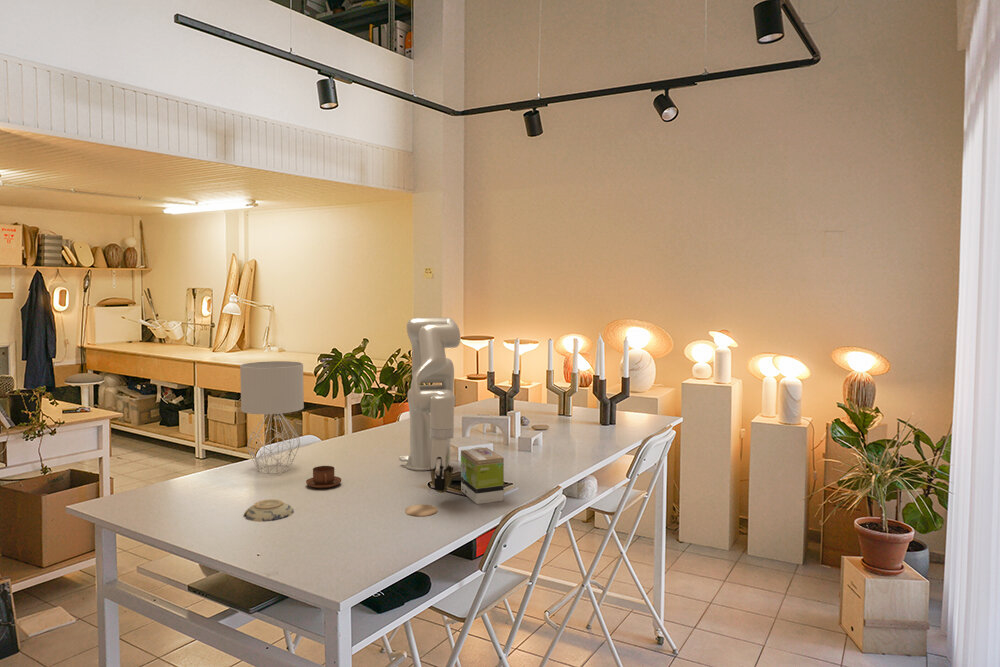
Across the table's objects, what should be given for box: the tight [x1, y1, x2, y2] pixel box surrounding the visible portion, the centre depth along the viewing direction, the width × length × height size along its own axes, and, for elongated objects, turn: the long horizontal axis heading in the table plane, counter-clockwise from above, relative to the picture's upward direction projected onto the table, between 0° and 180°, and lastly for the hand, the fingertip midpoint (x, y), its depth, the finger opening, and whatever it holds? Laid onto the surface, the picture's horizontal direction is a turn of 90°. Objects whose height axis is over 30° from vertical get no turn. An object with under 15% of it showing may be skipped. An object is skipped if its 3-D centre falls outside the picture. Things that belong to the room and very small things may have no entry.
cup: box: [429, 465, 454, 494], centre depth 227 cm, size 8×7×8 cm
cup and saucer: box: [305, 465, 342, 489], centre depth 246 cm, size 12×12×6 cm
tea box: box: [460, 447, 505, 505], centre depth 233 cm, size 15×10×15 cm, turn 23°
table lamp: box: [239, 360, 305, 475], centre depth 265 cm, size 22×22×40 cm
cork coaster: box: [404, 503, 438, 517], centre depth 219 cm, size 10×10×1 cm
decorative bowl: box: [242, 499, 295, 523], centre depth 215 cm, size 15×4×15 cm
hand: (441, 486), depth 228 cm, fingers closed on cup, 7 cm apart
